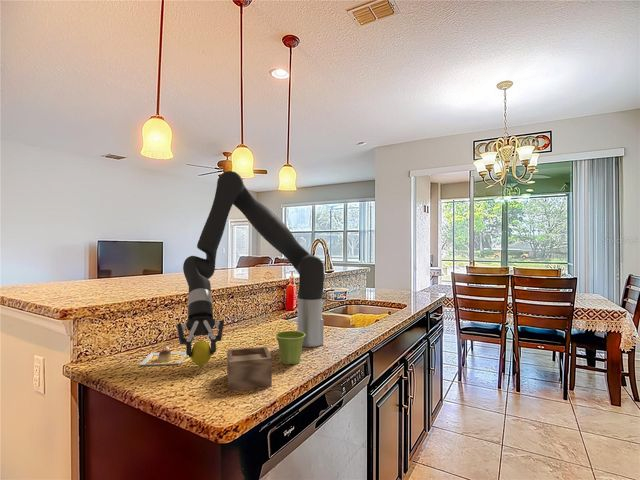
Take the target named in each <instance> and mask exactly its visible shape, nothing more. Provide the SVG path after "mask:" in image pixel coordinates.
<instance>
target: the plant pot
mask: <svg viewBox="0 0 640 480" xmlns="http://www.w3.org/2000/svg"><path fill="white" fill-rule="evenodd" d="M304 337H305V333H303V332H298V331H297V330H287V331H280V332H277V333H276V334H275V338H276V341H277V343H278V350H279V351H278V352H279V358H280V360H279V361H280V362H281V364H283V365H298V364H299V363H300V362H301V357H302V356H301V355H302V349H303V346H302V343H303V340H304Z"/></svg>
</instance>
